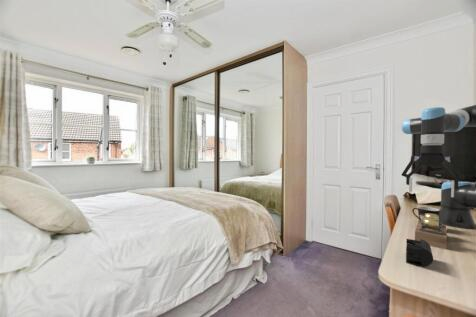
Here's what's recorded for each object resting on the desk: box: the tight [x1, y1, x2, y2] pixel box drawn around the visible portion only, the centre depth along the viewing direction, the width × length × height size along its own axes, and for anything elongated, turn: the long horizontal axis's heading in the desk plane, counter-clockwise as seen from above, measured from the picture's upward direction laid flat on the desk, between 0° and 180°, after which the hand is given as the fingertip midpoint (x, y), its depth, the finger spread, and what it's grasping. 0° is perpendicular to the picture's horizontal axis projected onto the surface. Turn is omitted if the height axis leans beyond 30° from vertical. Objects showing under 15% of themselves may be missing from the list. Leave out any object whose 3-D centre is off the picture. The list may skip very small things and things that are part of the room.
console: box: [414, 219, 448, 250], centre depth 100 cm, size 20×10×6 cm, turn 138°
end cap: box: [405, 238, 434, 268], centre depth 80 cm, size 10×7×7 cm
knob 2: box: [423, 218, 439, 227], centre depth 96 cm, size 5×5×2 cm
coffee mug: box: [412, 206, 440, 221], centre depth 117 cm, size 12×9×10 cm
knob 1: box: [425, 213, 439, 221], centre depth 104 cm, size 5×5×2 cm
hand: (430, 194), depth 95 cm, fingers open, 13 cm apart
